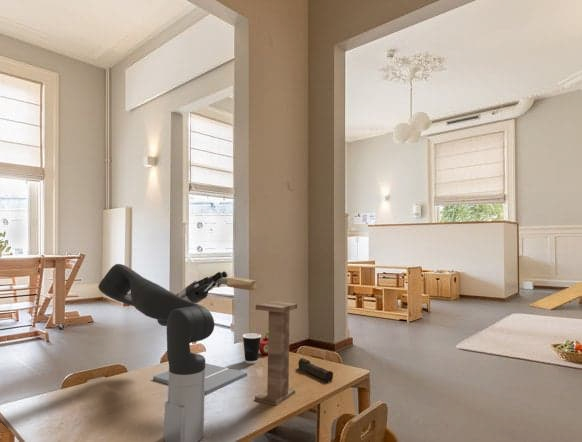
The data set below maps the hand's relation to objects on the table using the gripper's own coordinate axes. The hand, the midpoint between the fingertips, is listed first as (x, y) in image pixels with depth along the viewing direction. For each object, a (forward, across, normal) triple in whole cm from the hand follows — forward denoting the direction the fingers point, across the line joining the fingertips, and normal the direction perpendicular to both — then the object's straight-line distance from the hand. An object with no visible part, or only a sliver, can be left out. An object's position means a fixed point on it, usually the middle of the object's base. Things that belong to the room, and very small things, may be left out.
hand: (223, 273), depth 144 cm
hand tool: (+1, +26, +46) cm, 53 cm away
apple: (-26, +39, +30) cm, 56 cm away
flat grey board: (-28, 0, +29) cm, 40 cm away
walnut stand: (+1, 0, +45) cm, 45 cm away
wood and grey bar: (+1, 0, +6) cm, 6 cm away
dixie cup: (-24, +26, +31) cm, 47 cm away
